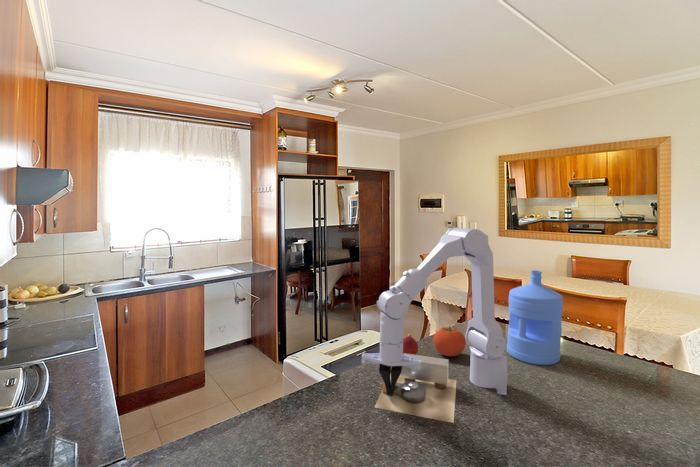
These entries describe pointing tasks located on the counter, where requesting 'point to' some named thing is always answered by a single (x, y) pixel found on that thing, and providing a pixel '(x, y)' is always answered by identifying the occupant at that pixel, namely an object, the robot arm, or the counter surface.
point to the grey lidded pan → (409, 391)
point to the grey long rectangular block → (428, 370)
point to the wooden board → (434, 405)
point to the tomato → (449, 341)
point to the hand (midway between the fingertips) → (390, 393)
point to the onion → (410, 345)
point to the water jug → (535, 323)
